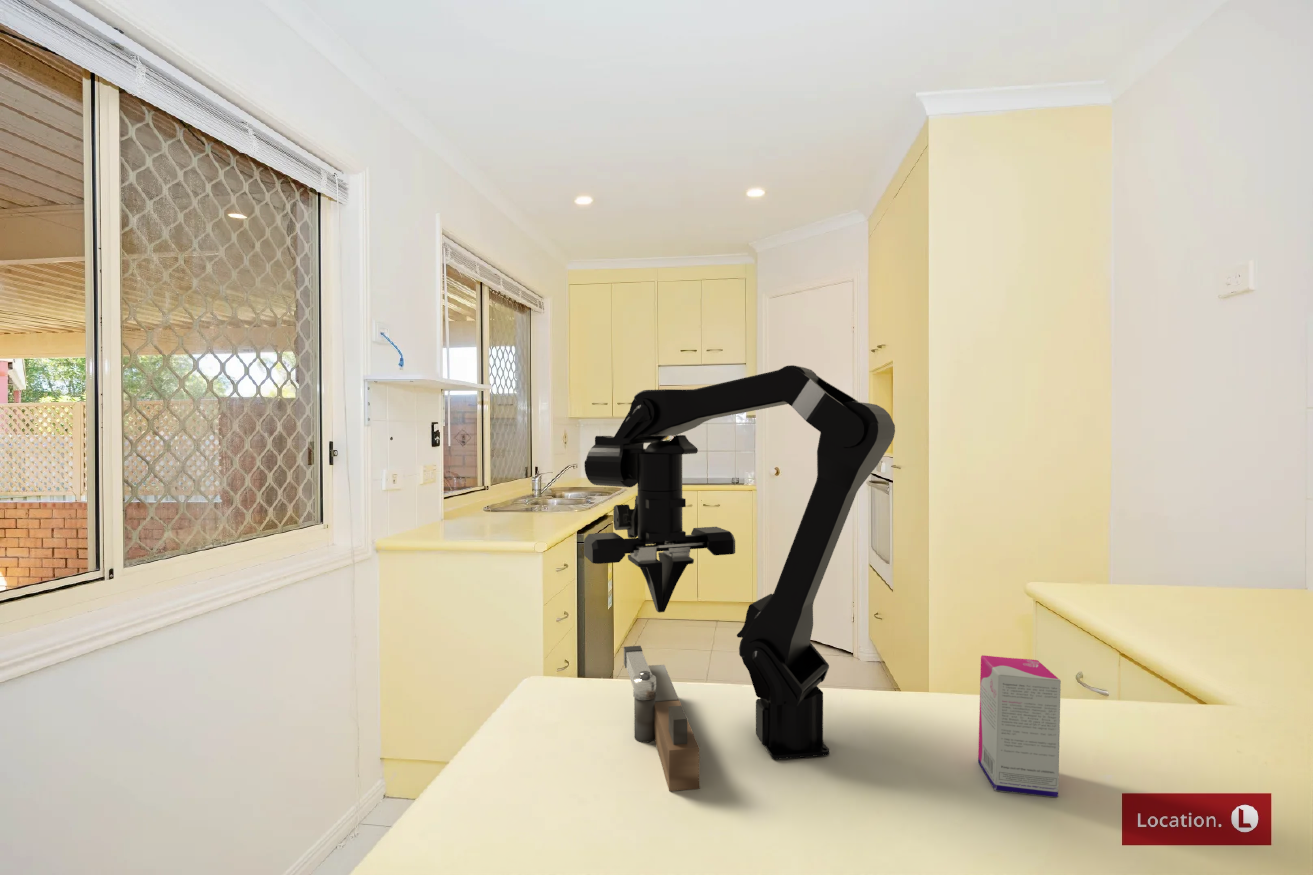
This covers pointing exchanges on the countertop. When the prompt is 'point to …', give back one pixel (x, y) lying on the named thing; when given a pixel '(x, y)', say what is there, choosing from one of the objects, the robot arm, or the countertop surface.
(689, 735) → the wooden block clamp
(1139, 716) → the countertop surface
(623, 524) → the robot arm
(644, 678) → the bar
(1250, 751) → the countertop surface
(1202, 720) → the countertop surface
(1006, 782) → the supplement box
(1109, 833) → the countertop surface
